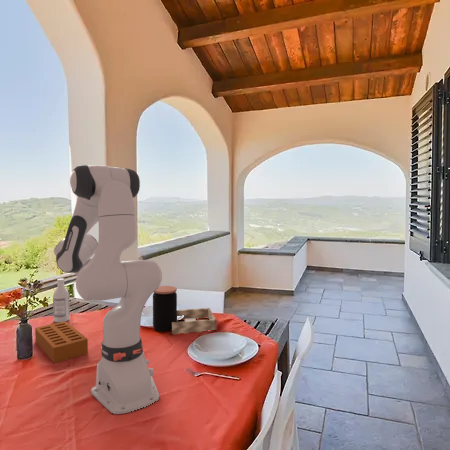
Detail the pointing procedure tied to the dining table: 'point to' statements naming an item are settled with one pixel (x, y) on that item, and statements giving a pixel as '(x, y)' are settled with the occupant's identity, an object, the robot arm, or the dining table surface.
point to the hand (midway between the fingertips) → (112, 291)
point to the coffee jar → (164, 308)
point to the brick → (61, 341)
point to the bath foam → (61, 303)
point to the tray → (194, 325)
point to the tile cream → (190, 319)
